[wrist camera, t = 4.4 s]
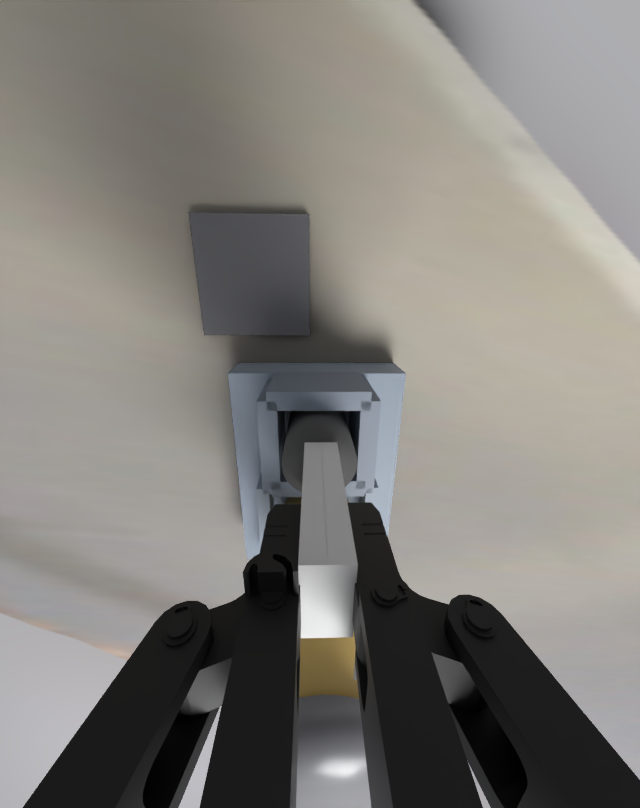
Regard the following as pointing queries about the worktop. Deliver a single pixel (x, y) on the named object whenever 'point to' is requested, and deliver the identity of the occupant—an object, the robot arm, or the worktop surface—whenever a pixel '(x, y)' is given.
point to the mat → (252, 272)
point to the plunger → (316, 430)
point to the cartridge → (330, 725)
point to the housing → (313, 391)
